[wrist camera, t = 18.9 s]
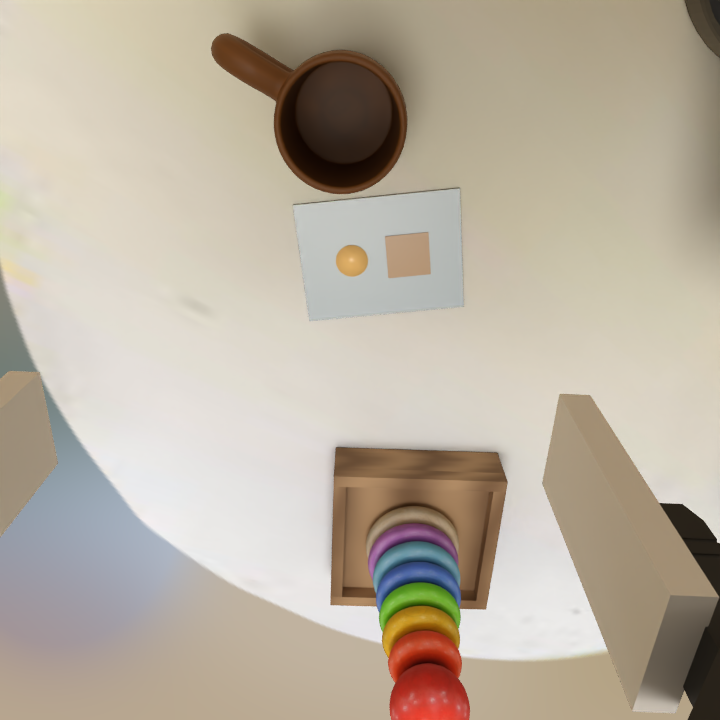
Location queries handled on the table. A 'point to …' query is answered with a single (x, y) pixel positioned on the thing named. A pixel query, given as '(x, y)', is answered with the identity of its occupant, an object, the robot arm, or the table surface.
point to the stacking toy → (419, 611)
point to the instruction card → (381, 254)
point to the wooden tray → (415, 488)
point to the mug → (326, 113)
